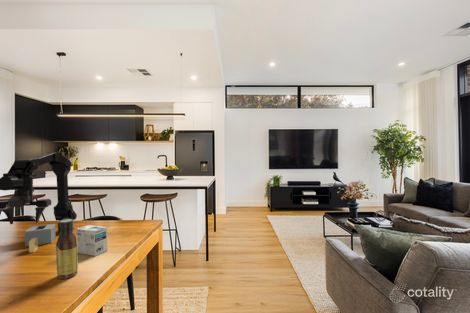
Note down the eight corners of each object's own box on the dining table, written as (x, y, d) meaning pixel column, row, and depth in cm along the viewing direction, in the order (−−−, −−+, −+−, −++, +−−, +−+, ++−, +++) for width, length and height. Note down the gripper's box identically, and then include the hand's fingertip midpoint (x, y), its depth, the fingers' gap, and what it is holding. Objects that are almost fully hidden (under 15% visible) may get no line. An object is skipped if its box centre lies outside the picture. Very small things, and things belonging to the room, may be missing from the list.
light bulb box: (108, 250, 115) (107, 226, 115) (95, 256, 109) (95, 231, 108) (89, 247, 119) (89, 224, 118) (76, 253, 112) (75, 228, 112)
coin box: (55, 237, 132) (55, 223, 132) (51, 243, 124) (51, 228, 124) (31, 240, 128) (31, 226, 128) (25, 246, 120) (25, 231, 120)
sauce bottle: (63, 271, 95) (62, 217, 95) (81, 271, 96) (80, 217, 95) (52, 280, 88) (51, 222, 88) (71, 280, 89) (70, 222, 89)
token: (38, 248, 118) (37, 237, 118) (34, 252, 113) (34, 240, 113) (32, 249, 117) (32, 238, 117) (29, 252, 113) (28, 241, 113)
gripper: (-14, 190, 104) (-14, 229, 104) (41, 189, 109) (40, 226, 109) (3, 187, 115) (2, 223, 114) (52, 186, 120) (51, 220, 119)
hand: (24, 223), depth 114 cm, fingers open, 9 cm apart
